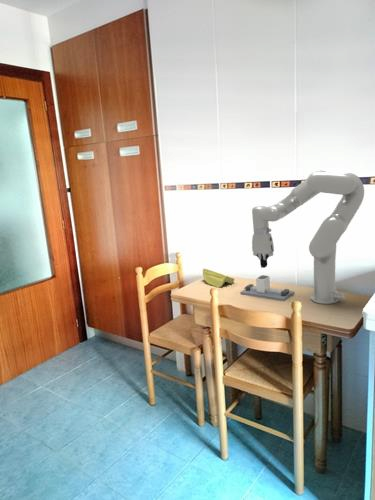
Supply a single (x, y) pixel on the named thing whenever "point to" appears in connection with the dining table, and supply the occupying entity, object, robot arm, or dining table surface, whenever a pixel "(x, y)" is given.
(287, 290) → the din rail
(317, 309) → the dining table surface
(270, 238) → the robot arm
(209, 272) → the yellow-green curved piece
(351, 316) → the dining table surface
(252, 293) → the mounting plate
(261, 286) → the block
